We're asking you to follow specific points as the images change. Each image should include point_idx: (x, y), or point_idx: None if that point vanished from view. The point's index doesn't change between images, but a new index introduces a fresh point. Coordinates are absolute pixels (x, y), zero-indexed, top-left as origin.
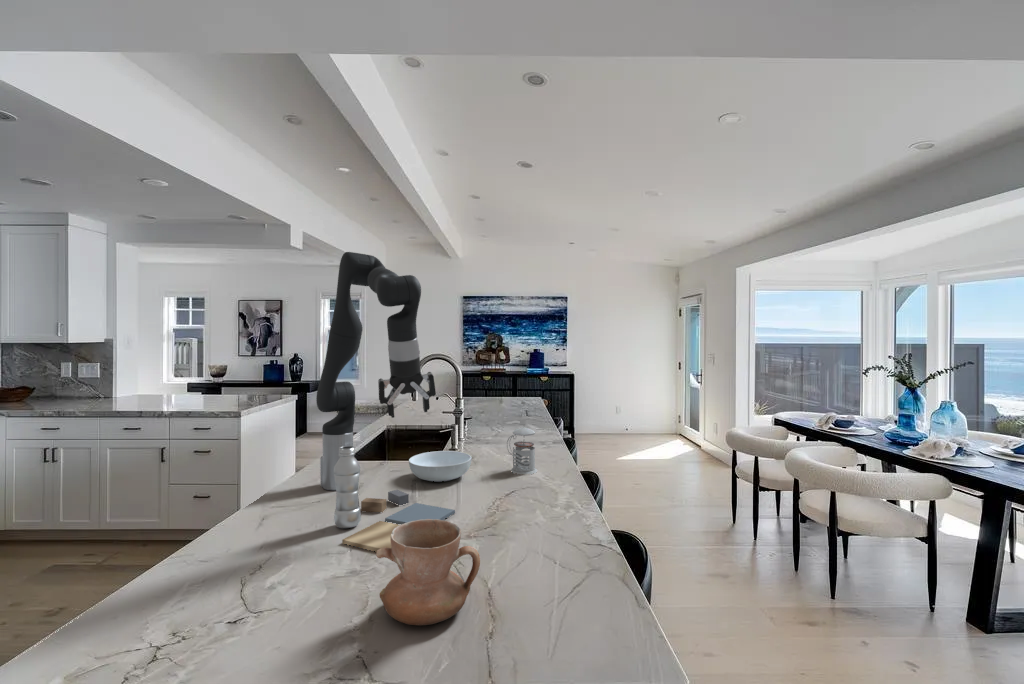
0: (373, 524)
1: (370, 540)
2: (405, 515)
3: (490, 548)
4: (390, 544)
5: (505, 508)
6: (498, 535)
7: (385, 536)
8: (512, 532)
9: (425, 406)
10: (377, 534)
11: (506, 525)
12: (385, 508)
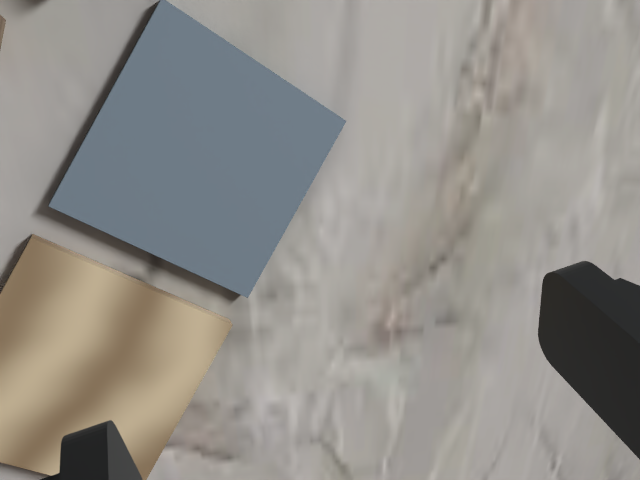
0: (12, 280)
1: (51, 434)
2: (141, 175)
3: (432, 410)
4: (139, 456)
5: (516, 79)
6: (462, 322)
7: (103, 396)
8: (501, 299)
9: (611, 412)
10: (64, 381)
11: (494, 244)
12: (2, 32)
